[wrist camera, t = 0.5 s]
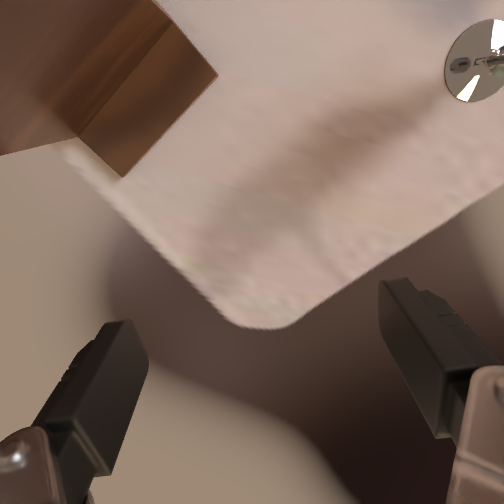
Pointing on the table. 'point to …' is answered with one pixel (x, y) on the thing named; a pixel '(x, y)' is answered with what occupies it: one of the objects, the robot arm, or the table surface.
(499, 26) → the wine glass
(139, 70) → the wooden backboard stand
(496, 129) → the table surface
